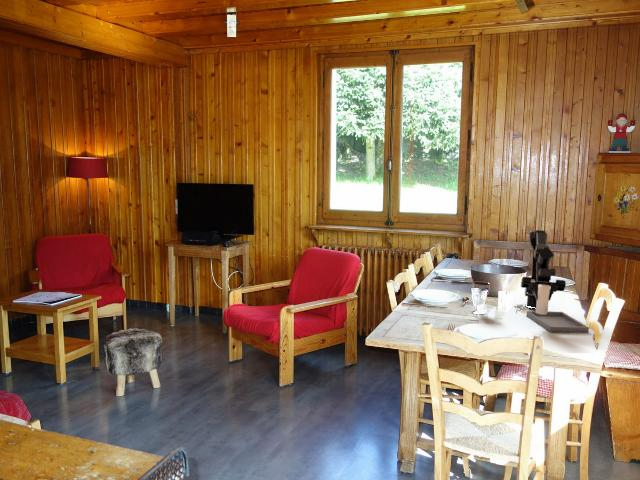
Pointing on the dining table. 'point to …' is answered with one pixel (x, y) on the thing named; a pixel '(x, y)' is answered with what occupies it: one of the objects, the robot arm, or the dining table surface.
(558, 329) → the tray
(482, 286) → the wine glass
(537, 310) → the canister
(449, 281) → the dining table surface
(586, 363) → the dining table surface
